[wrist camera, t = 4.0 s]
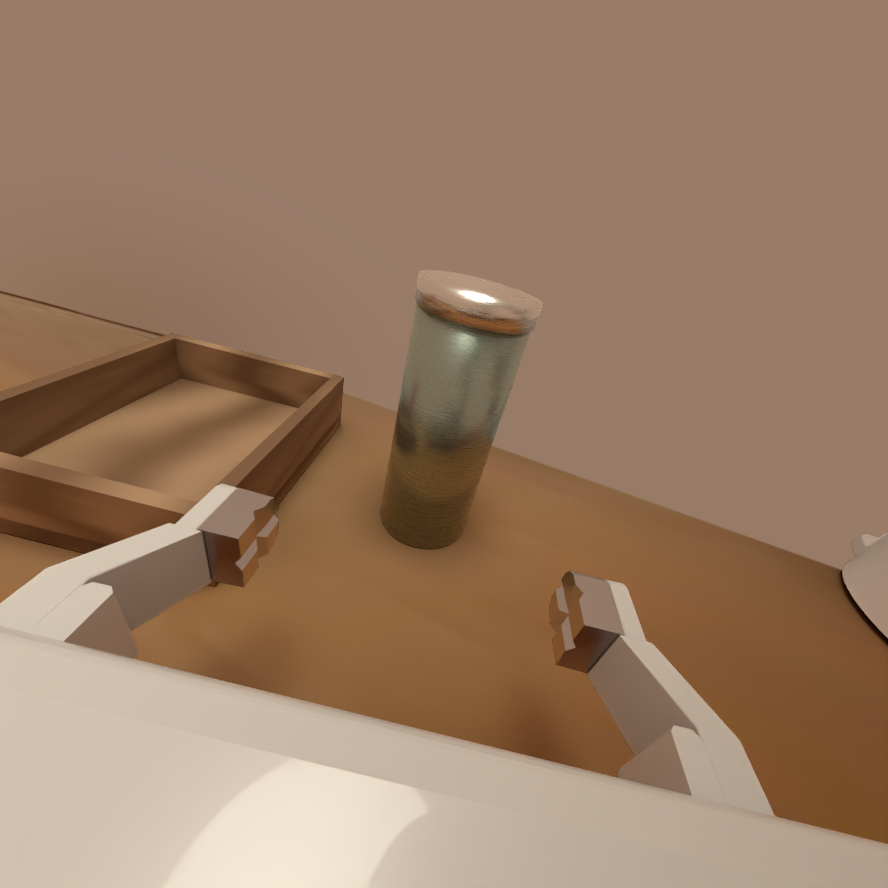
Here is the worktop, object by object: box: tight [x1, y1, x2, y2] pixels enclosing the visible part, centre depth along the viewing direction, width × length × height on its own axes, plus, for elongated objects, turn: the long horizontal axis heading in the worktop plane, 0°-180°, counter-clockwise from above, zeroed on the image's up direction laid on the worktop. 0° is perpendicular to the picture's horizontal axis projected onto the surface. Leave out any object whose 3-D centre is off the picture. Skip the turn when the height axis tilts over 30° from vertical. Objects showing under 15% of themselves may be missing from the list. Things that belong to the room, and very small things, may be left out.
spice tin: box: [380, 270, 543, 549], centre depth 19 cm, size 5×5×13 cm
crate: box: [0, 333, 344, 586], centre depth 21 cm, size 12×15×4 cm
